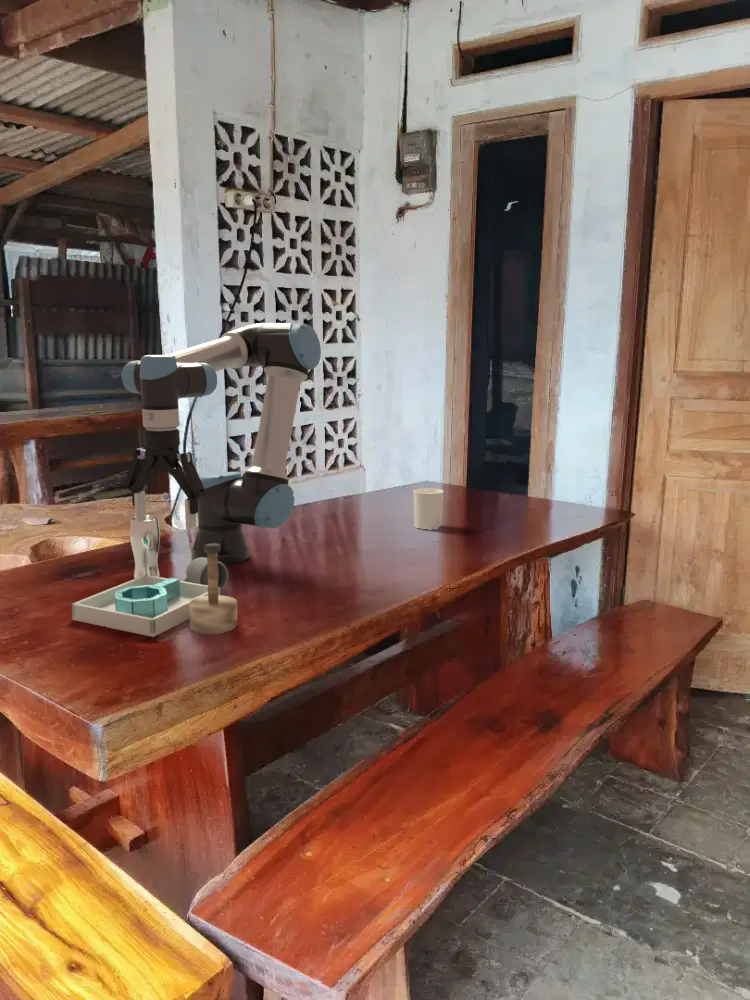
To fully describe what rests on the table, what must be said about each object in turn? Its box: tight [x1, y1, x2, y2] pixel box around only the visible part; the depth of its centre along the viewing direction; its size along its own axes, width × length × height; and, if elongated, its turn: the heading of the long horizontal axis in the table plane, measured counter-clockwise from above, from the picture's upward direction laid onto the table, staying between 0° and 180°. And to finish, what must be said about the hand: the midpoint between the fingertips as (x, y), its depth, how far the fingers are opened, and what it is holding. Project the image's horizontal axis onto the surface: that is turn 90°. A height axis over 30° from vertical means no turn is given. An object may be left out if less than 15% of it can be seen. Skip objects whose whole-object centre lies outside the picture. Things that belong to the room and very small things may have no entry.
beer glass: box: [129, 514, 161, 579], centre depth 189 cm, size 7×7×15 cm
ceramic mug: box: [182, 557, 229, 591], centre depth 181 cm, size 11×8×8 cm
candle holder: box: [412, 487, 445, 530], centre depth 247 cm, size 10×10×12 cm
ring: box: [115, 577, 181, 618], centre depth 167 cm, size 17×10×4 cm, turn 156°
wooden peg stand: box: [189, 543, 238, 635], centre depth 158 cm, size 10×10×17 cm
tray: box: [71, 575, 221, 638], centre depth 167 cm, size 23×21×4 cm
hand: (165, 524), depth 169 cm, fingers open, 13 cm apart
